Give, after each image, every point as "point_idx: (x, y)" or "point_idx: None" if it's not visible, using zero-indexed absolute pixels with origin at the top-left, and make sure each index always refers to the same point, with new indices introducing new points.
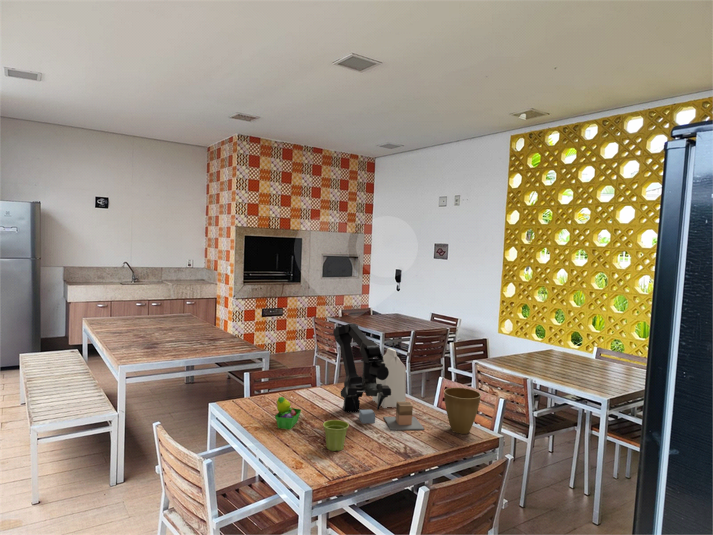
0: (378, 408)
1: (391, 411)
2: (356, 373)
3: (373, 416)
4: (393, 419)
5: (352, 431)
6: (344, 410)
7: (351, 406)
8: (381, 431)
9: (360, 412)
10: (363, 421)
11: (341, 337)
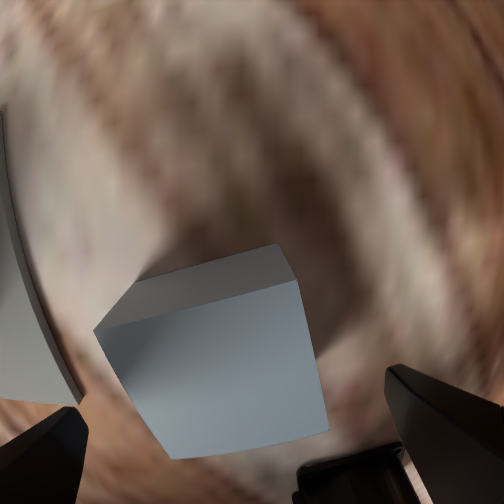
0: (53, 419)
1: None
2: None
3: (128, 307)
4: (1, 347)
5: (374, 10)
6: (402, 455)
7: (366, 490)
8: (77, 52)
9: (318, 384)
10: (267, 251)
11: None
